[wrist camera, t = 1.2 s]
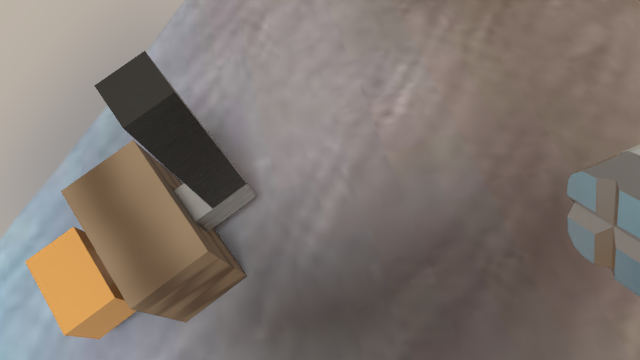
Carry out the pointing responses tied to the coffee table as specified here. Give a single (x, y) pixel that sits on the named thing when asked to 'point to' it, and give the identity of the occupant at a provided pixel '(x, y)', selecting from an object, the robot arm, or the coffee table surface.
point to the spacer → (78, 286)
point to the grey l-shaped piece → (175, 141)
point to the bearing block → (150, 237)
